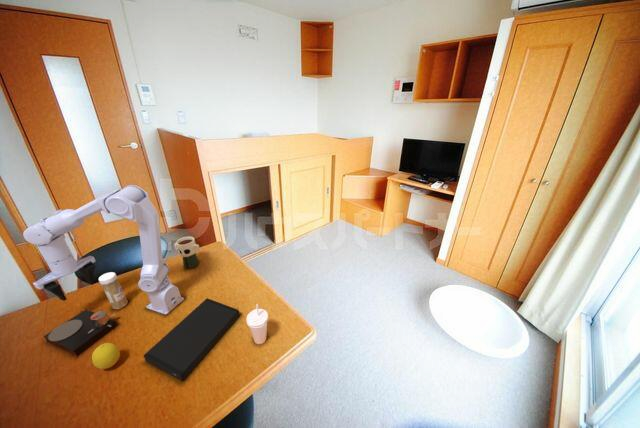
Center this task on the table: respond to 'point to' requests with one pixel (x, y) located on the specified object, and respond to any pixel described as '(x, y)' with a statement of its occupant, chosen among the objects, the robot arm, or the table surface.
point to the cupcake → (99, 319)
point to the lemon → (105, 355)
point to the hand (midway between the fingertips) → (77, 291)
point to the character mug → (188, 251)
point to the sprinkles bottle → (113, 290)
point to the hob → (83, 334)
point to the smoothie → (258, 324)
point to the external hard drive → (192, 339)
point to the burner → (65, 330)
